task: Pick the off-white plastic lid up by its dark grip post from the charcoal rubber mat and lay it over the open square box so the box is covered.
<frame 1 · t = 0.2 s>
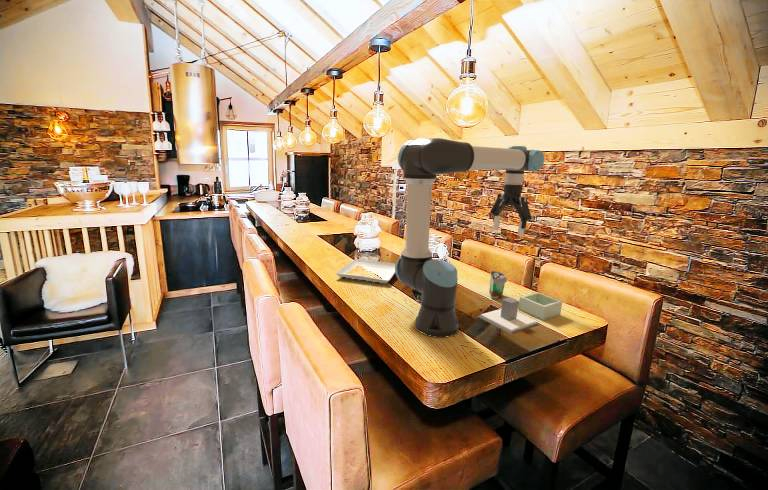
hand: (507, 232, 155), 28 cm above the table, tool pointing down, fingers open, 13 cm apart
mat: (507, 321, 133), on the table
open square box: (538, 313, 140), on the table
lid: (508, 320, 132), resting on mat
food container: (497, 297, 156), on the table
square plate: (370, 275, 181), on the table
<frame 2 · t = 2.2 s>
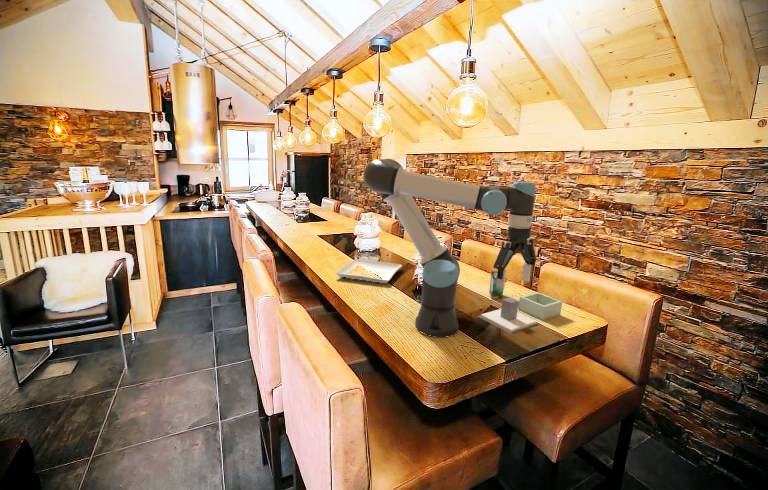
hand: (513, 284, 129), 15 cm above the table, tool pointing down, fingers open, 13 cm apart
nothing on the table moved.
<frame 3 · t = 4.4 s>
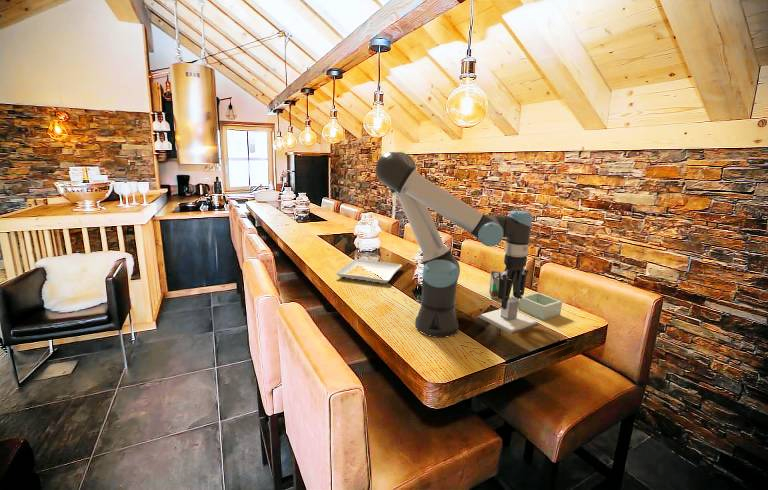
hand: (508, 314, 132), 3 cm above the table, tool pointing down, fingers closed on lid, 4 cm apart
lid: (508, 320, 132), resting on mat, touching gripper
everything else where it was.
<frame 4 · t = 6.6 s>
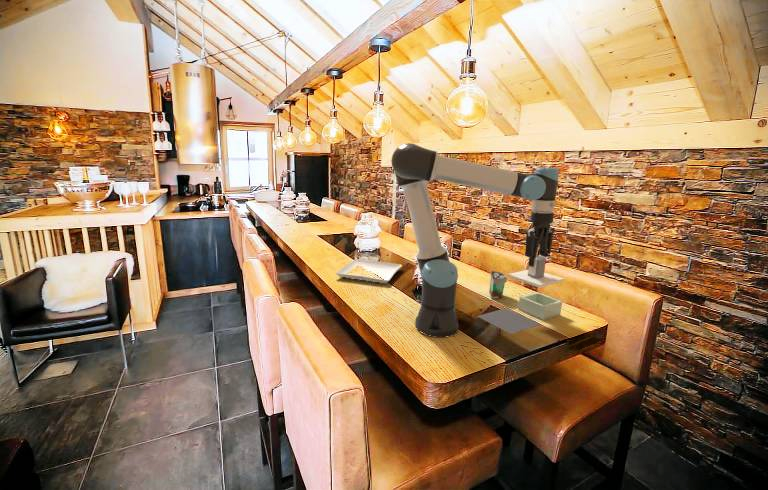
hand: (535, 273, 133), 18 cm above the table, tool pointing down, fingers closed on lid, 4 cm apart
lid: (535, 278, 133), point 15 cm above the table, touching gripper
everything else where it was.
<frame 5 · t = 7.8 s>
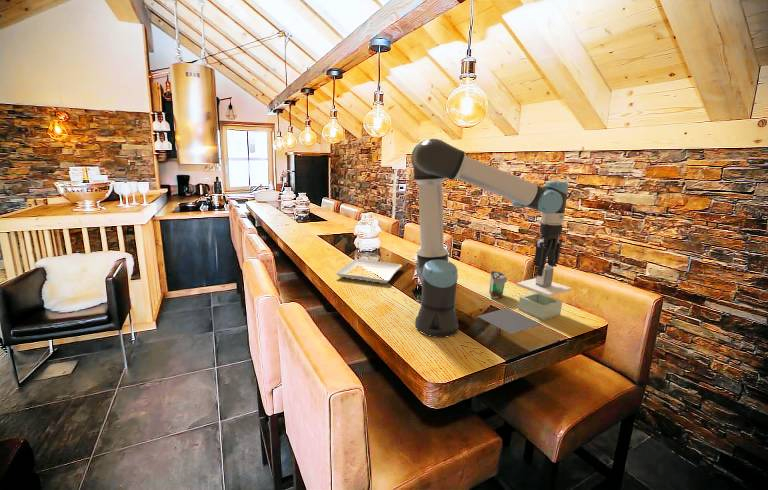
hand: (543, 282, 137), 13 cm above the table, tool pointing down, fingers closed on lid, 4 cm apart
lid: (543, 287, 138), point 11 cm above the table, touching gripper
everything else where it was.
when the fingers open (10 cm above the table, at t = 8.9 s): lid drops 2 cm, resting on open square box.
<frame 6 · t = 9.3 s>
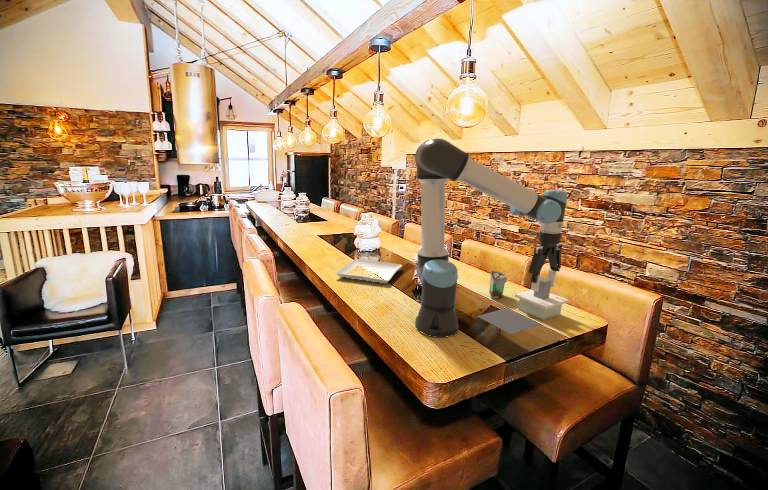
hand: (542, 288, 138), 11 cm above the table, tool pointing down, fingers open, 9 cm apart
lid: (540, 299, 139), point 6 cm above the table, touching open square box
everything else where it was.
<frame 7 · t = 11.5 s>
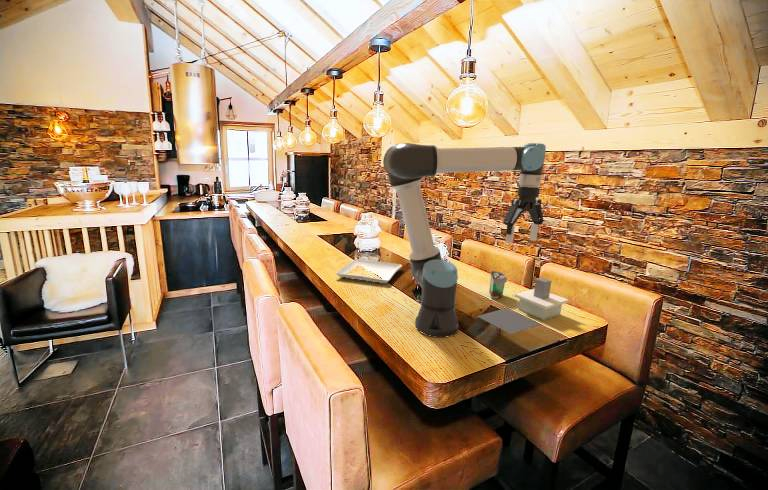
hand: (521, 241, 138), 28 cm above the table, tool pointing down, fingers open, 13 cm apart
nothing on the table moved.
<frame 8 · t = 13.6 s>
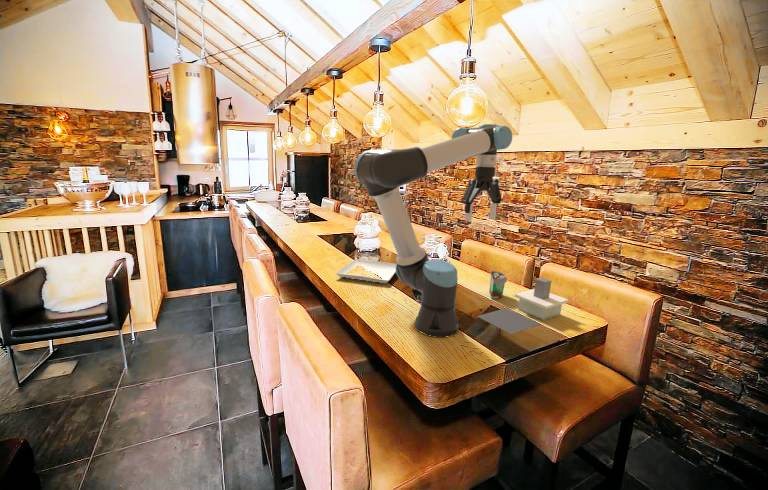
hand: (480, 220, 143), 35 cm above the table, tool pointing down, fingers open, 13 cm apart
nothing on the table moved.
at the end: lid 0.0 cm off-centre on the open square box, point 6.0 cm above the open square box's base; lid tilted 0°; the gripper is holding nothing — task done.
